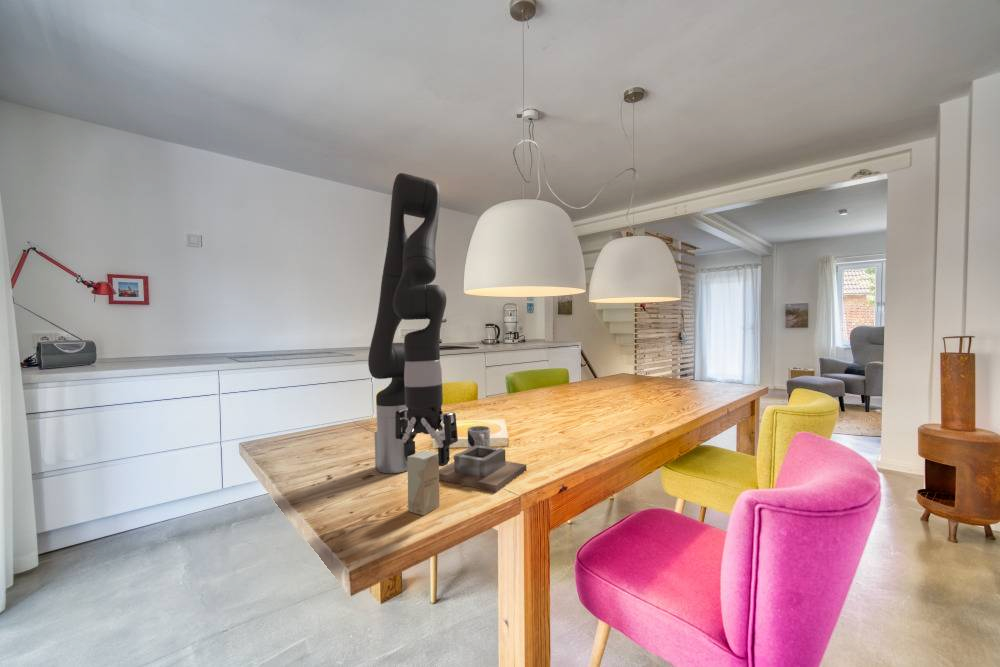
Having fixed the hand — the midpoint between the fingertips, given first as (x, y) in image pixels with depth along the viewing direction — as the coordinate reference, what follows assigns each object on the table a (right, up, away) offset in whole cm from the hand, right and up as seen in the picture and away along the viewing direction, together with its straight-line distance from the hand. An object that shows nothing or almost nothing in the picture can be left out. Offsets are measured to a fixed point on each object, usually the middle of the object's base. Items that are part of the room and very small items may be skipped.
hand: (426, 462), depth 79 cm
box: (0, -10, 0) cm, 10 cm away
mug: (+9, -9, +36) cm, 38 cm away
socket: (+10, -9, +18) cm, 23 cm away
